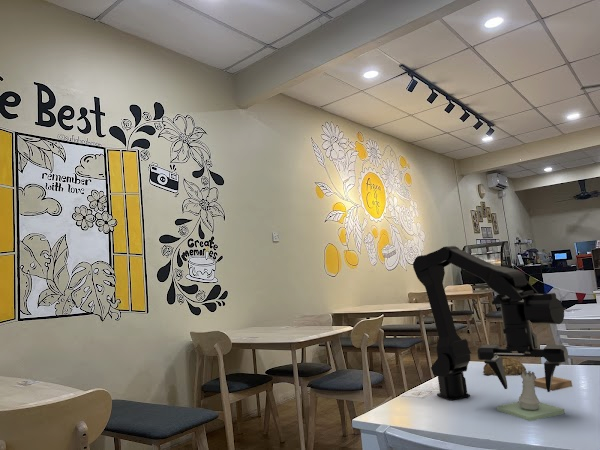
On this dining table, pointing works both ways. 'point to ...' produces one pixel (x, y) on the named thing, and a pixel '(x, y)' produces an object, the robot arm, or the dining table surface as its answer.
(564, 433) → the dining table surface
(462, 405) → the dining table surface
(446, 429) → the dining table surface
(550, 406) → the sage block
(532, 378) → the rook chess piece
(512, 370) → the bread roll
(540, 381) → the walnut block
